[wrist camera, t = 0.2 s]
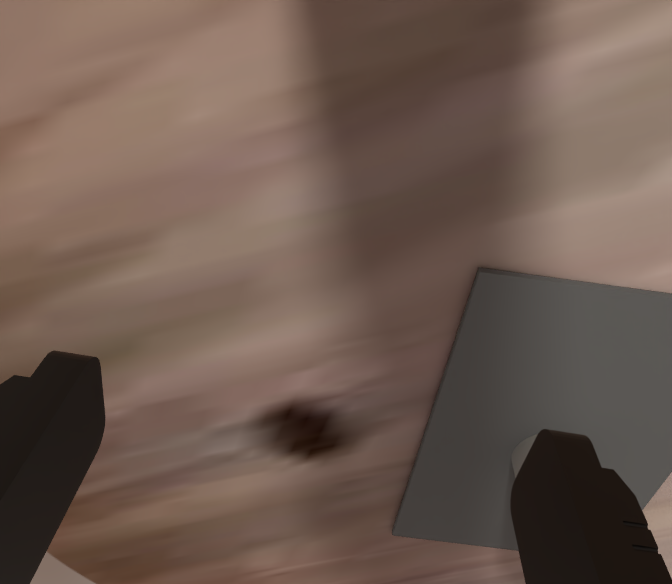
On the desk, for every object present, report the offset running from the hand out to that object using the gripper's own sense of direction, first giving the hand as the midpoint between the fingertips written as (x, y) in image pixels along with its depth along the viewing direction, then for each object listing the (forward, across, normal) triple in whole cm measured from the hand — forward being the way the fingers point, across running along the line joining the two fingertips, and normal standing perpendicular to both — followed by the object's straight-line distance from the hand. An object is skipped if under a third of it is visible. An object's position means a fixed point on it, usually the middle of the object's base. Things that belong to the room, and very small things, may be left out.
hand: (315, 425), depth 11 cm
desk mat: (+19, -16, +18) cm, 30 cm away
